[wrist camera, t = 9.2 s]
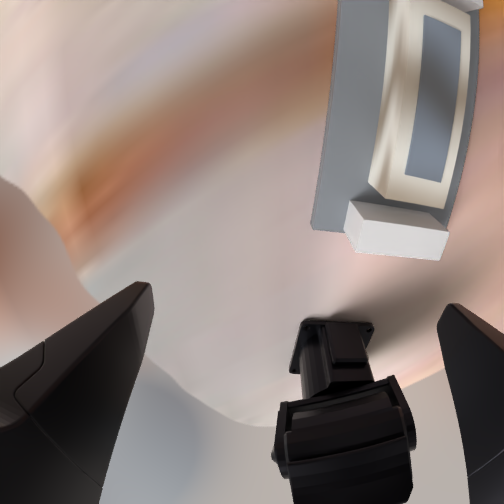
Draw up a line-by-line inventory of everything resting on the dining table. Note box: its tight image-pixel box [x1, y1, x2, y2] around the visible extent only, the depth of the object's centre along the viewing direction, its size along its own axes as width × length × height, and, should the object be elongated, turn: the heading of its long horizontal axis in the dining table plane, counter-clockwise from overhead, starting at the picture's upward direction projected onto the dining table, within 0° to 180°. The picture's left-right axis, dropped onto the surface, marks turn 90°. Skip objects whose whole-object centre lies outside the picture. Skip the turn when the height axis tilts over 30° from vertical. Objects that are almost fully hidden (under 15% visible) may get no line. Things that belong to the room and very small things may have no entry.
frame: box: [368, 0, 471, 209], centre depth 13 cm, size 12×4×3 cm, turn 175°
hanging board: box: [311, 0, 483, 261], centre depth 14 cm, size 19×10×4 cm, turn 175°
